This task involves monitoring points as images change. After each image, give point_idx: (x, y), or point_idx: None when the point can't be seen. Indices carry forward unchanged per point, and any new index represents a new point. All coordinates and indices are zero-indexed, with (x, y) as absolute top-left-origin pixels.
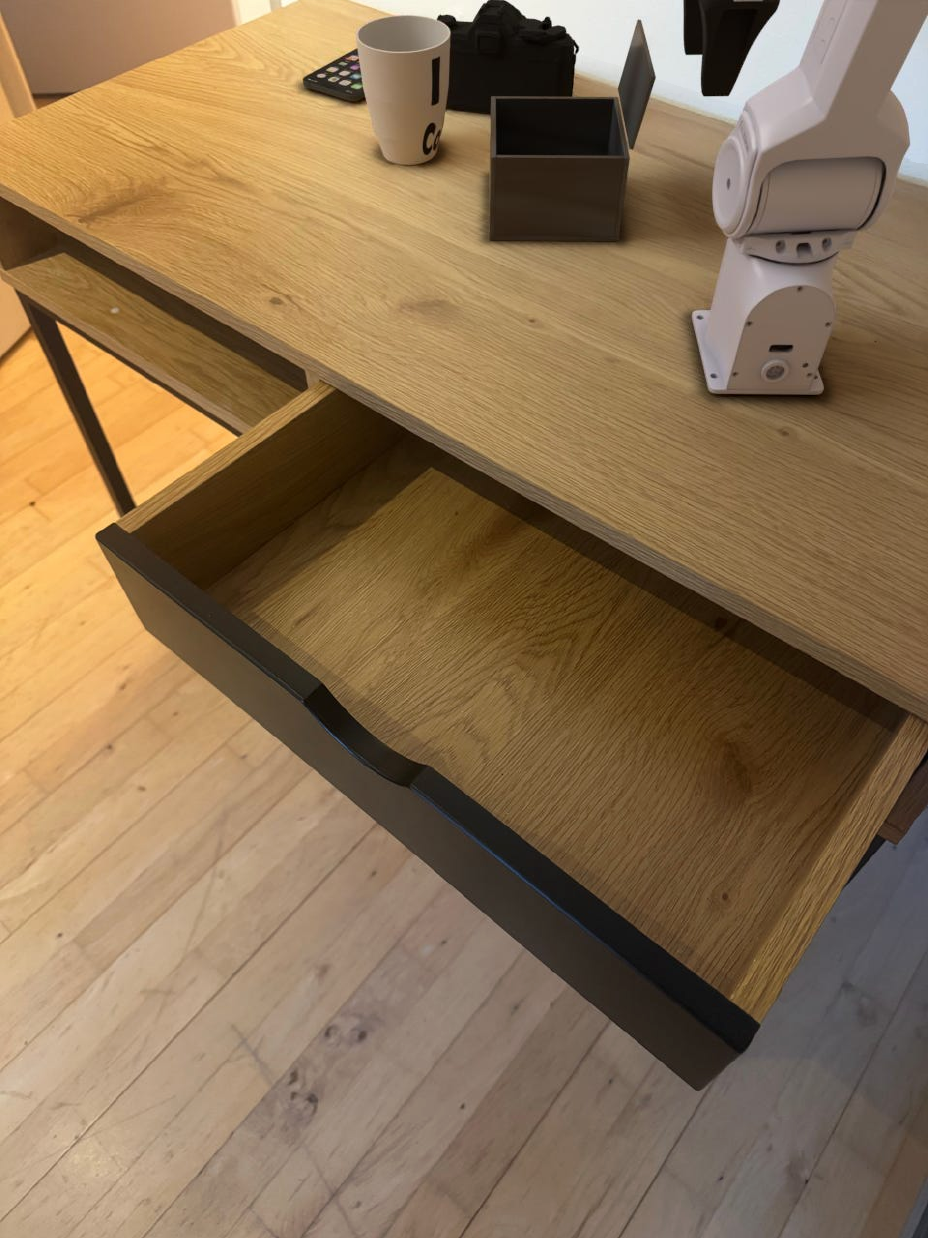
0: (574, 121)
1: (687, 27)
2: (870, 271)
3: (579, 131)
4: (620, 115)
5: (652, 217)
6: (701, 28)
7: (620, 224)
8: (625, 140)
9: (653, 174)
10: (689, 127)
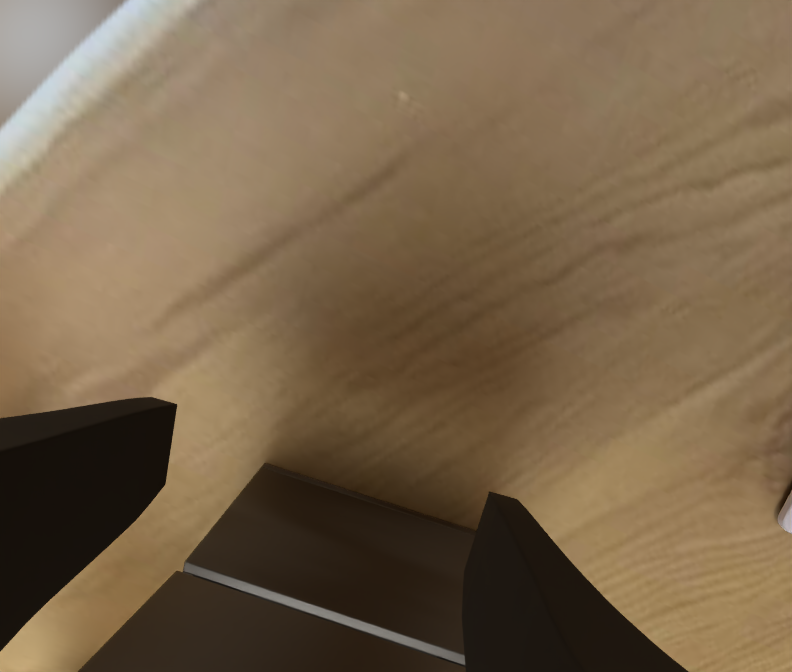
0: None
1: (102, 547)
2: (783, 96)
3: (217, 583)
4: (288, 598)
5: (428, 443)
6: (111, 491)
7: None
8: (421, 643)
9: (271, 374)
10: (88, 213)
